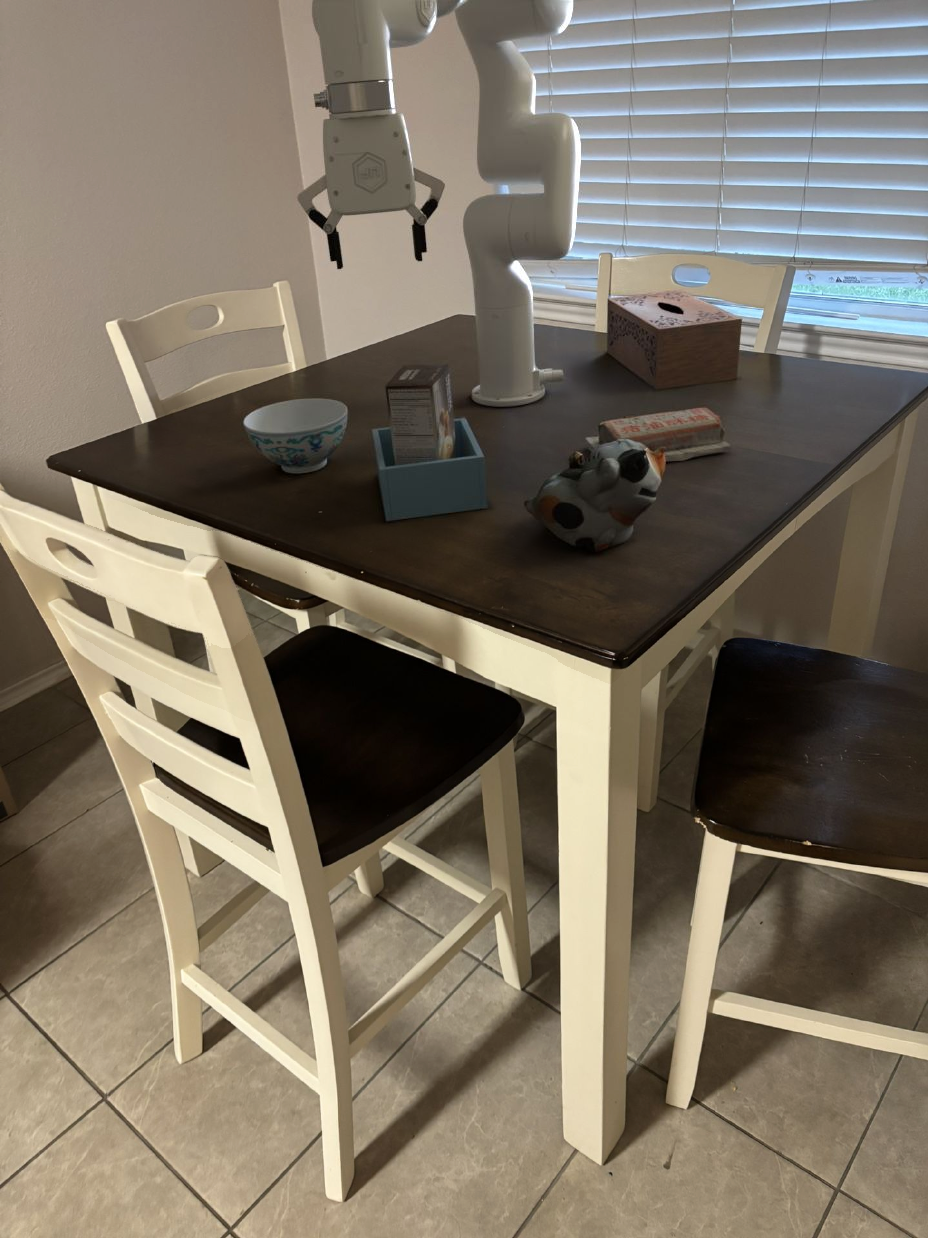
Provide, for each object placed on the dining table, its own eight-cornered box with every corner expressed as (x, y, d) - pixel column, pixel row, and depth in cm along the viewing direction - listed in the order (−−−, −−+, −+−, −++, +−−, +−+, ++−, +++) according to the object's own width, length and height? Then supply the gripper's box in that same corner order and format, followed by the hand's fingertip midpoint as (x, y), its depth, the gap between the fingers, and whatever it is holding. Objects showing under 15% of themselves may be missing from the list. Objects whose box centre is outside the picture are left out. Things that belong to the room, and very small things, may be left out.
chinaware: (310, 491, 124) (300, 437, 120) (232, 475, 131) (221, 425, 127) (374, 454, 135) (368, 404, 131) (299, 441, 142) (291, 394, 138)
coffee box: (415, 477, 125) (403, 363, 117) (460, 478, 124) (450, 362, 116) (398, 505, 118) (383, 384, 109) (445, 505, 116) (434, 383, 108)
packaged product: (702, 399, 130) (734, 420, 122) (700, 431, 133) (731, 454, 124) (584, 416, 128) (608, 438, 119) (584, 448, 130) (607, 472, 122)
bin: (468, 464, 128) (465, 417, 124) (487, 508, 115) (484, 456, 111) (377, 476, 127) (371, 428, 123) (386, 521, 114) (379, 469, 110)
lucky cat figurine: (572, 497, 115) (628, 403, 108) (641, 555, 110) (704, 461, 103) (503, 507, 104) (560, 402, 97) (576, 571, 99) (642, 467, 92)
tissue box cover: (607, 352, 173) (607, 298, 167) (677, 342, 174) (680, 289, 169) (656, 389, 151) (658, 329, 146) (736, 378, 153) (742, 318, 147)
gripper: (282, 108, 96) (307, 275, 105) (441, 95, 98) (453, 261, 106) (285, 107, 103) (309, 265, 111) (434, 95, 104) (446, 252, 113)
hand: (379, 263), depth 109 cm, fingers open, 9 cm apart
